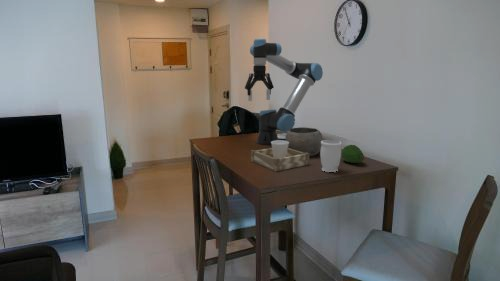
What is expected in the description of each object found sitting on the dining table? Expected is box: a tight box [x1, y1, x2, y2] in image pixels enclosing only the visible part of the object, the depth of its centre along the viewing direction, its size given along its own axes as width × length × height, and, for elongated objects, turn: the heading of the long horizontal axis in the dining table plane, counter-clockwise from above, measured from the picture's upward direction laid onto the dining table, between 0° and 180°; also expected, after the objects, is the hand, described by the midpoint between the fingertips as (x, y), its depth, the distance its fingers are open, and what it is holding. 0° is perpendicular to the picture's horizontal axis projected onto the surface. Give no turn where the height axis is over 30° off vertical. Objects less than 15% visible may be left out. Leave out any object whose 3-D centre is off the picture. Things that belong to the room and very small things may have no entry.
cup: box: [271, 139, 289, 158], centre depth 189 cm, size 10×10×11 cm
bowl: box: [284, 127, 324, 158], centre depth 210 cm, size 23×23×15 cm
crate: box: [250, 147, 310, 172], centre depth 189 cm, size 23×23×6 cm
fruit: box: [341, 144, 365, 164], centre depth 190 cm, size 15×10×10 cm, turn 15°
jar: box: [319, 139, 343, 173], centre depth 175 cm, size 11×10×15 cm
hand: (259, 100), depth 213 cm, fingers open, 13 cm apart
